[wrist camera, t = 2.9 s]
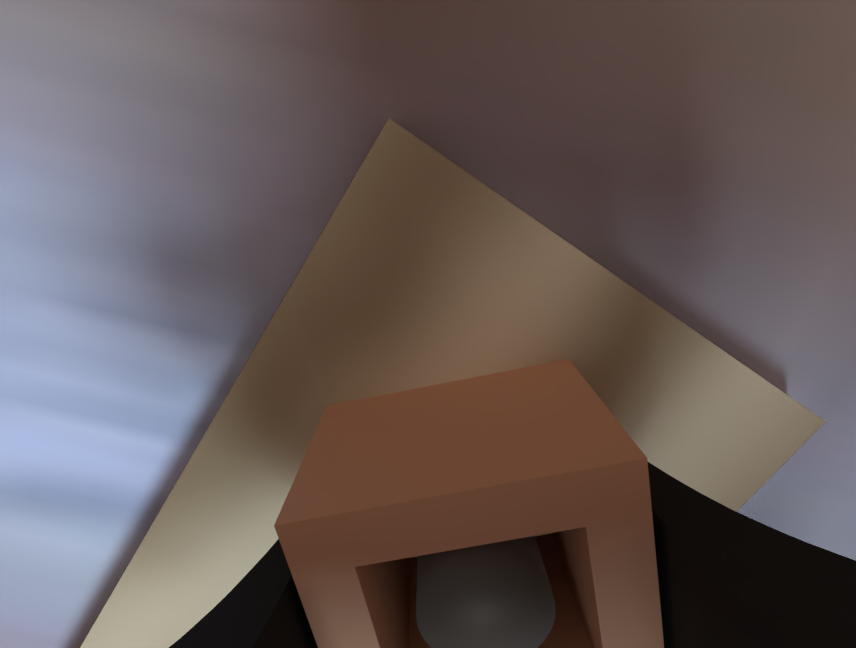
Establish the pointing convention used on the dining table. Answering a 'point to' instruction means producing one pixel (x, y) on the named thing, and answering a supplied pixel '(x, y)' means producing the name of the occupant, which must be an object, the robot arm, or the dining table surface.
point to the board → (435, 364)
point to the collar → (474, 506)
